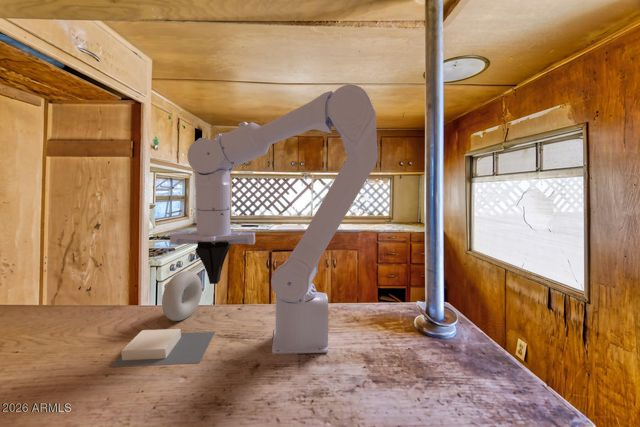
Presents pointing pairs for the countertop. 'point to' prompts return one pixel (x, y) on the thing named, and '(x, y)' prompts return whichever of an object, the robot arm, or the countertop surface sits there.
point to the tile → (151, 344)
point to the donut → (174, 294)
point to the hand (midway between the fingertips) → (214, 282)
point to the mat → (176, 352)
